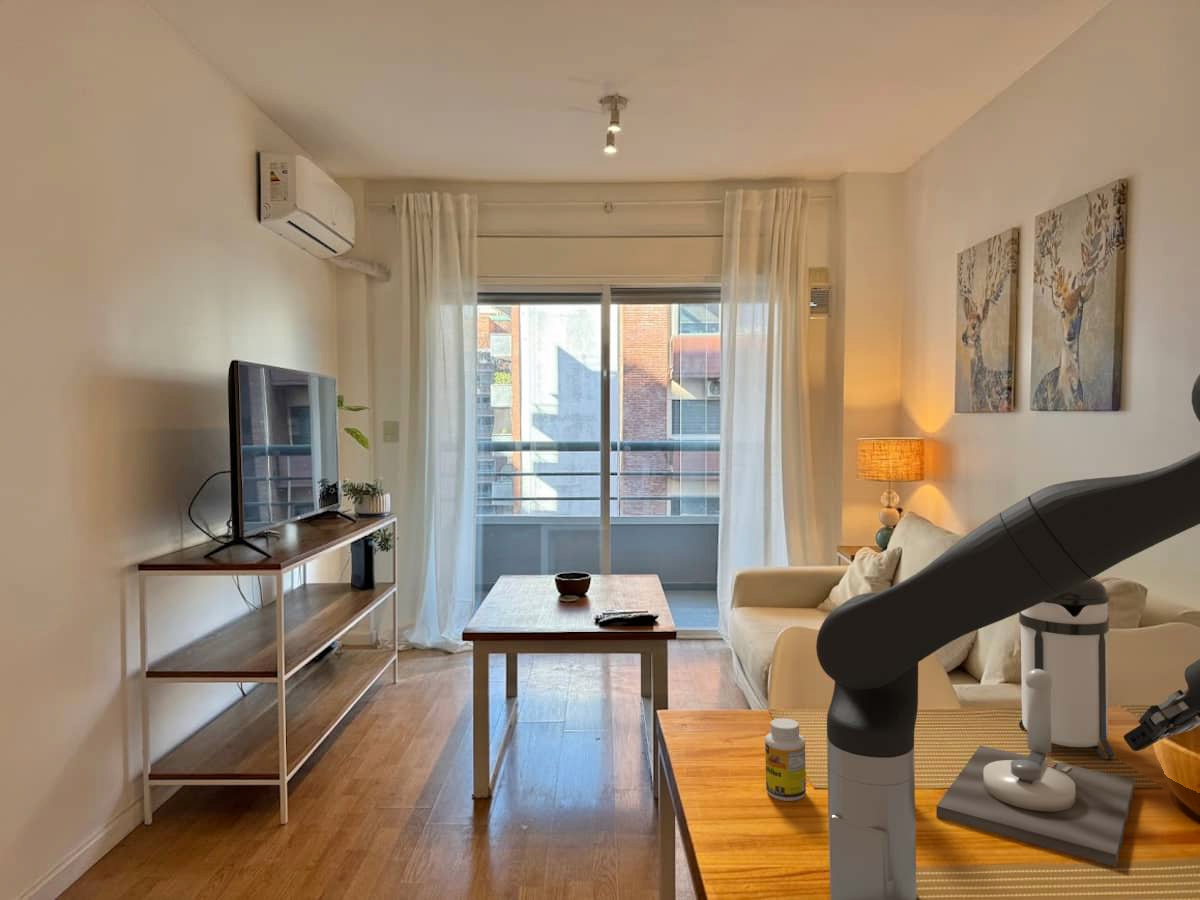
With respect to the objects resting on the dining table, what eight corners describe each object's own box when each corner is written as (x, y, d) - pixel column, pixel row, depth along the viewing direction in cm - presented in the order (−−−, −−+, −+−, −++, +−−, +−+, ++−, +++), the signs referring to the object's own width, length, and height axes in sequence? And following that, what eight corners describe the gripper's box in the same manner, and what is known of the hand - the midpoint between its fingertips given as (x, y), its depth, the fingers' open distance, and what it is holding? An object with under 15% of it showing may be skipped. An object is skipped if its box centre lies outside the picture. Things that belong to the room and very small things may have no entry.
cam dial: (1068, 820, 98) (1067, 705, 98) (975, 796, 105) (973, 689, 104) (1085, 774, 110) (1084, 673, 110) (1000, 756, 117) (999, 660, 117)
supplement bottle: (759, 788, 112) (757, 718, 112) (792, 782, 114) (791, 713, 114) (778, 805, 107) (777, 733, 107) (813, 799, 109) (812, 727, 108)
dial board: (1116, 867, 90) (1116, 852, 90) (936, 816, 103) (936, 804, 103) (1134, 789, 109) (1133, 777, 109) (980, 754, 122) (980, 744, 121)
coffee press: (1146, 751, 121) (1145, 561, 120) (1075, 770, 115) (1073, 571, 115) (1046, 714, 137) (1044, 547, 137) (979, 729, 132) (977, 554, 131)
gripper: (1242, 712, 84) (1121, 780, 95) (1302, 697, 90) (1182, 763, 101) (1188, 652, 89) (1079, 723, 100) (1249, 641, 94) (1140, 710, 106)
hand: (1131, 743), depth 100 cm, fingers closed
